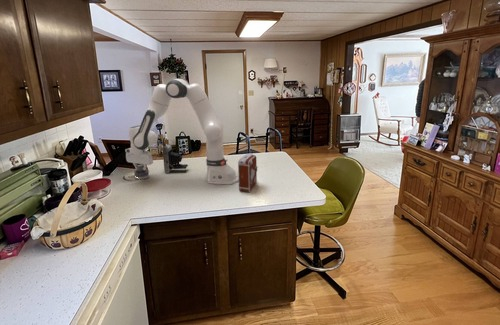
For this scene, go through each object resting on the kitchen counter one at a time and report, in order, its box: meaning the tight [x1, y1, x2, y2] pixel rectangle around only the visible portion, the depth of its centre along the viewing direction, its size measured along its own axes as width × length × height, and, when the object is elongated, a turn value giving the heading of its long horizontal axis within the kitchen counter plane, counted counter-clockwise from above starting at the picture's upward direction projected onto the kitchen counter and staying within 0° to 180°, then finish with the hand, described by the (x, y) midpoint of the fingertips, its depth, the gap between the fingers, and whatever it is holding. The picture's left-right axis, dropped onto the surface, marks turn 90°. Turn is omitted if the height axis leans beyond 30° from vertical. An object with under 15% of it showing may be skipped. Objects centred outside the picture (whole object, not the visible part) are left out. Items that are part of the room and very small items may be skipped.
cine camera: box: [237, 153, 259, 193], centre depth 174 cm, size 9×19×20 cm, turn 161°
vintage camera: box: [162, 143, 189, 174], centre depth 205 cm, size 10×16×20 cm, turn 89°
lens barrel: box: [133, 168, 150, 180], centre depth 196 cm, size 9×9×4 cm
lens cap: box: [136, 164, 145, 173], centre depth 195 cm, size 5×5×5 cm
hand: (140, 169), depth 195 cm, fingers closed on lens cap, 5 cm apart
